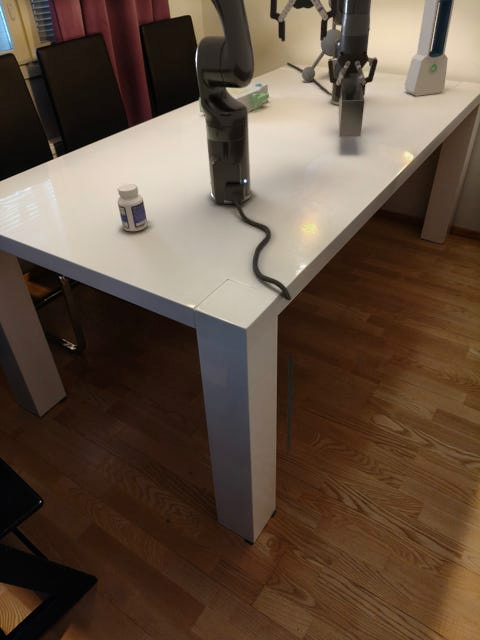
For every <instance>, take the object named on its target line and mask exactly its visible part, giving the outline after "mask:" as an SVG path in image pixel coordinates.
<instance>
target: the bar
mask: <svg viewBox="0 0 480 640" xmlns="http://www.w3.org/2000/svg"><path fill="white" fill-rule="evenodd" d="M340 84H341V89H340V99H339V105H338V135H339V137H340V138H343V137H344V138H345V137H346V138H349V137H353V138H355V137H356V138H357V137H359V138H361V136H362V128H363V118H364V108H365V95H364V96H363V90H362V85H361V80H360V78H347V79H342V81H341V83H340Z"/></svg>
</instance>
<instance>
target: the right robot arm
mask: <svg viewBox="0 0 480 640" xmlns="http://www.w3.org/2000/svg"><path fill="white" fill-rule="evenodd" d="M371 8H372V0H337V14H336V16H335V17H332V21H333V22H334V24H335V25H336V26H340V31H341V37H340V38H338V39H336V41H335V52H334V59H332V58H328V60H327V66H328V67H327V69H328V78H329V83H330V84H332V85H331V93H330V92H329V90H328V89H327V88H326V87H324V86H323V85H322V84H320V83H319V81H317V80H316V79H315V78H314V79H313V80H312V81H313V82H314V83H315V85H316V86H318V87H319V88H320V89H321V90H323V91H324V92H325V93H326V94H328V95H329V96H331V98H330V103H331V104H333V105H335V106H339V99H340V89H341V84H340V83H341V81H342V79H347V78H360V80H361V85H362V90H363V96H364V97H365V93H366V85H367V84H369V83H372V82H373V80H374V78H375V77H374V76H375V73H376V69H377V66H378V61H379V60H378V58H377V57H376V56H374V57H369V56H368V55H369V54H368V46H369V36H370V30H371ZM367 63H368V66H369V67H370V68H369V71H368V76H367V77H365V73H364V70H363V68H364V67H365V66H366V65H367ZM286 64H287V65H288V66H290V67H292V68H294V69H296V70H297V71H300V72H301V73H302V71H303V70H304V69H302V68H300V67H299V66H296V65H295V64H293V63H290V62H287V63H286Z"/></svg>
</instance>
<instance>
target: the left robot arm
mask: <svg viewBox="0 0 480 640" xmlns="http://www.w3.org/2000/svg"><path fill="white" fill-rule="evenodd" d="M210 1H211V3H212V5H213V7H214V8H215V10H216V12H217V15H218V18H219V20H220V24H221V27H222V28H221V29H222V32H223V35H205V36H203V37H202V38H201V39H200V41H199V42H198V45H197V47H196V53H195V70H196V71H195V72H196V77H197V83H198V84H197V85H198V90H199V91H198V92H199V98H200V100H201V106H202V110H203V112H204V113H203V114H204V122H205V132H206V144H207V155H208V166H209V167H208V168H209V179H210V189H211V193H210V195H211V200H212V201H214V203H215V204H216V205H235V207H236V210H237V212H238V214H239V216H240V217H241V219H242V220H243V221H244V222H245V223H247V224H248V225H251V226H253V227H255V228H258V229H261V230H264V232H265V233H266V235H265V237H264V238H263V239H261V241H260V242H259V244H258V245H257V246H256V248H255V250H254V253H253V258H252V268H253V272H254V274H255V275H256V277H257V278H259V280H262V281H264V282H266V283H269V284H271V285H274V286H276V287H277V288H279V290H281V292H282V293H283V296H284V298H285V300H286V301H291V300H292V296H291V294H290V292H289V290H288V289H287V287H286V286H285V285H284V284H283V283H282V282H281V281H279V280H278V279H275V278H273V277H269V276H267V275H265V274H263V273H262V272H261V270H260V268H259V265H258V263H259V256H260V252H261V250H262V248H263V246H265V245H266V244H267V243H268V242H269V240H270V238H271V236H272V232H271V230H270V228H269V227H268V226H267V225H265V224H262V223H259V222H256V221H254V220H251V219H250V218H249V217H247V216H246V215H245V213H244V210H243V209H242V206H241V205H242V204H243V202H246V201H248V200H250V198H251V196H252V190H251V165H250V162H251V161H250V138H249V135H250V134H249V112H248V110H247V107H246V106H245V105H244V104H243V103H241V102H240V101H238V100H236V99H235V98H233V97H232V96H231V95H230V94H229V92H228V91H227V89H226V88H245V87H247V86H248V85H249V84H250V83H252V81H253V78H254V73H255V52H254V46H253V40H252V35H251V30H250V26H249V20H248V16H247V11H246V10H247V9H246V5H245V0H210ZM269 7H270V9H269V18H270V19H272V20H275V21H277V23H278V24H277V25H278V26H277V28H278V29H277V31H278V35H277V36H278V39H280V40H281V42H285V41H286V20H285V19H286V17H287V15H289V13H290V11H291V9H292V8H294V9H295V10H300V9H303V8H304V9H312V8H313V7H314V8H315V10H316V11H317V13H318V14H319V16H320V18H321V20H320V38H319V41H320V42H321V40H323V38H324V37H326V36H327V31H328V21H329V20H330V19H331V18H332V19H333V17H335V16H336V14H337V0H331V8H330V10H328V11H326V9H325V7H324V5H323V4H322V2H321V0H288V2H287V3H286V5H285V6H284V8H283V9H282V11H281V13H280V12H278V0H270V6H269ZM293 369H294V355H293V354H292V355H291V354H287V404H286V405H287V407H286V409H287V410H286V451H288V452H289V451H291V449H292V415H293V414H292V412H293V386H294V385H293V384H294V383H293V382H294V381H293V379H294V370H293Z"/></svg>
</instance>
